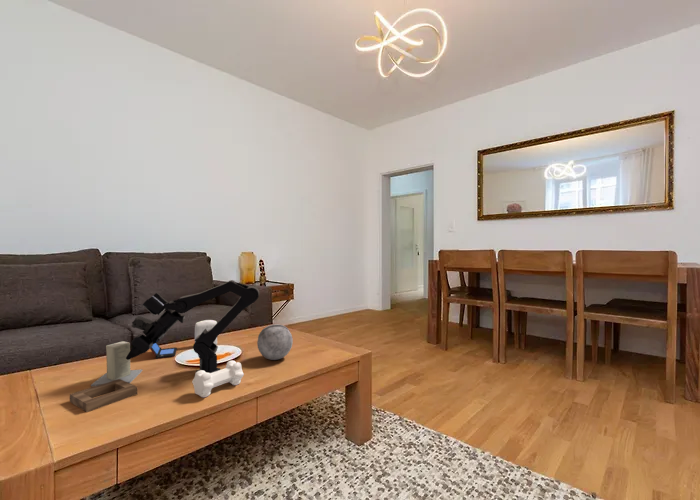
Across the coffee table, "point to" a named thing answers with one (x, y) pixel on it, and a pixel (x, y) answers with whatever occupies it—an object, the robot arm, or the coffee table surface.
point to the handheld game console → (163, 351)
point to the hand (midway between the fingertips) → (132, 354)
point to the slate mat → (127, 379)
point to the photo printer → (204, 327)
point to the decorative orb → (275, 341)
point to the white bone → (217, 378)
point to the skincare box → (118, 360)
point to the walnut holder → (89, 403)
